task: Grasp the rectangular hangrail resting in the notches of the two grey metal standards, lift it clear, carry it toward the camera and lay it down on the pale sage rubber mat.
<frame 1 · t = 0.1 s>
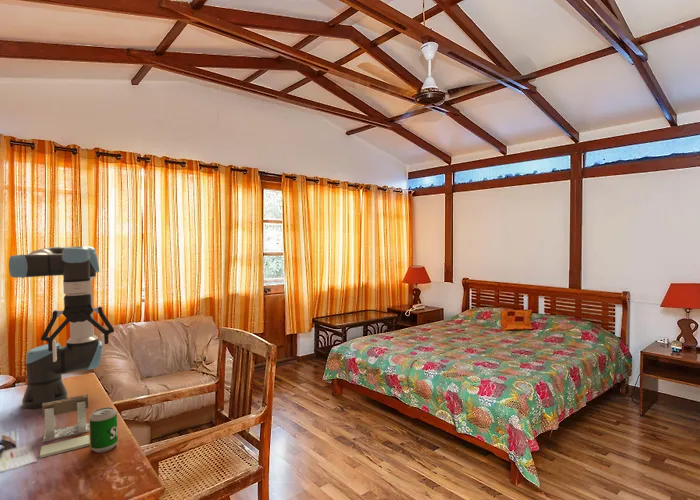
hand: (79, 357, 136), 28 cm above the table, fingers open, 13 cm apart
hangrail: (66, 411, 141), point 7 cm above the table, touching rack
mat: (65, 447, 131), on the table
rack: (66, 432, 141), on the table
soda can: (104, 448, 130), on the table
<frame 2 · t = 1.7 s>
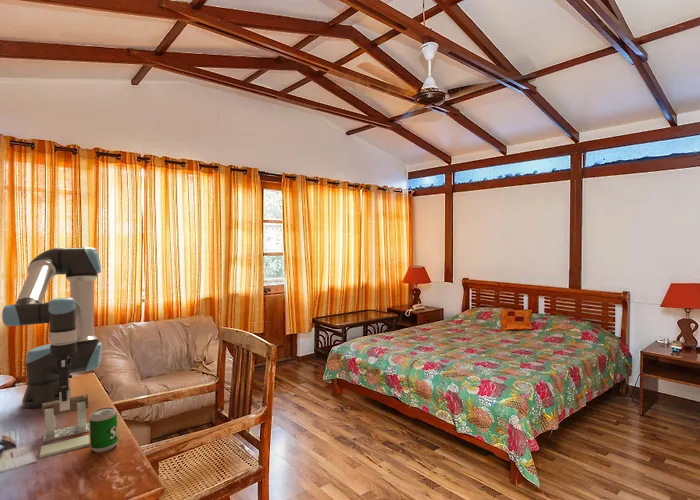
hand: (65, 403, 141), 10 cm above the table, fingers open, 13 cm apart
nothing on the table moved.
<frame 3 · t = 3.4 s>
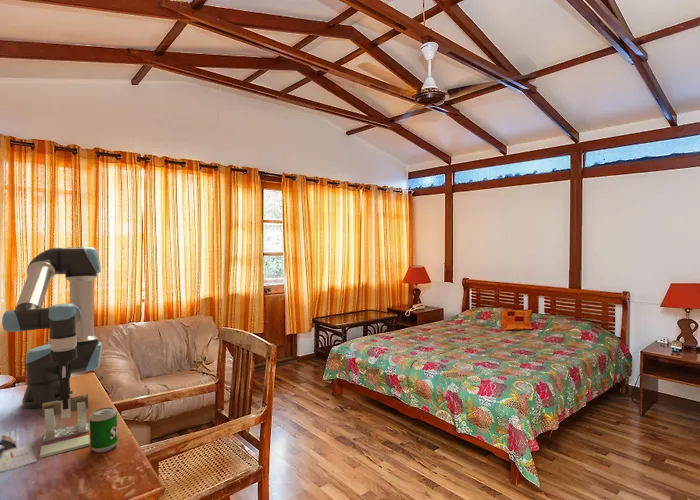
hand: (66, 415, 141), 6 cm above the table, fingers closed on hangrail, 3 cm apart
hangrail: (66, 411, 141), point 8 cm above the table, touching gripper
everything else where it was.
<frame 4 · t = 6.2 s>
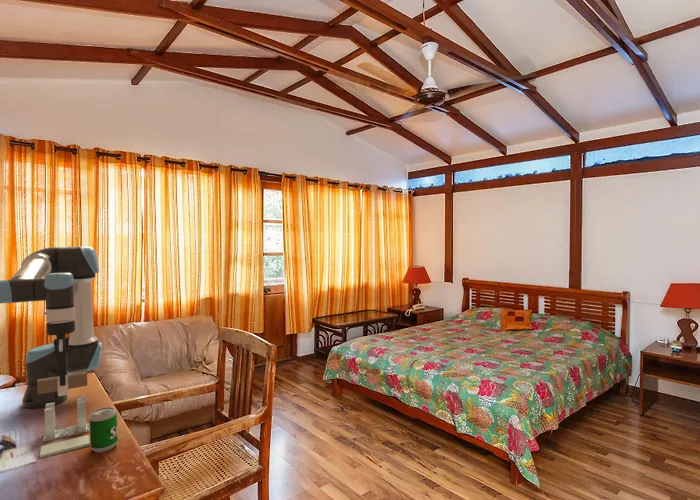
hand: (63, 393, 131), 18 cm above the table, fingers closed on hangrail, 3 cm apart
hangrail: (63, 388, 131), point 19 cm above the table, touching gripper
everything else where it was.
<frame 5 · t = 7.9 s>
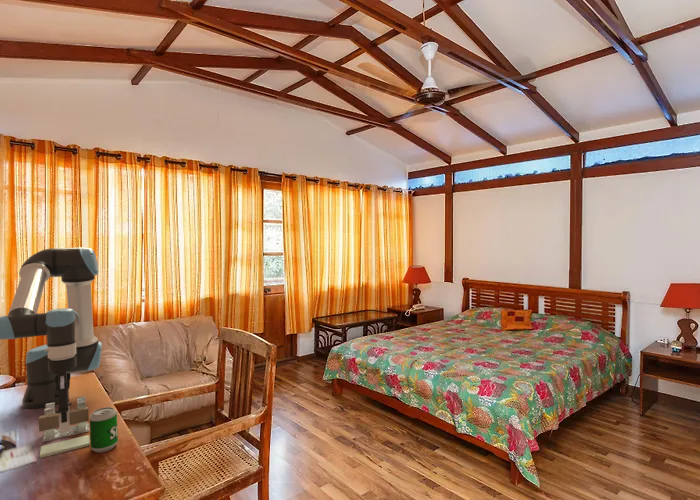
hand: (64, 429, 131), 6 cm above the table, fingers closed on hangrail, 3 cm apart
hangrail: (64, 424, 131), point 7 cm above the table, touching gripper
everything else where it was.
when the fingers open (2 cm above the table, at t = 9.5 s): hangrail drops 2 cm, resting on mat.
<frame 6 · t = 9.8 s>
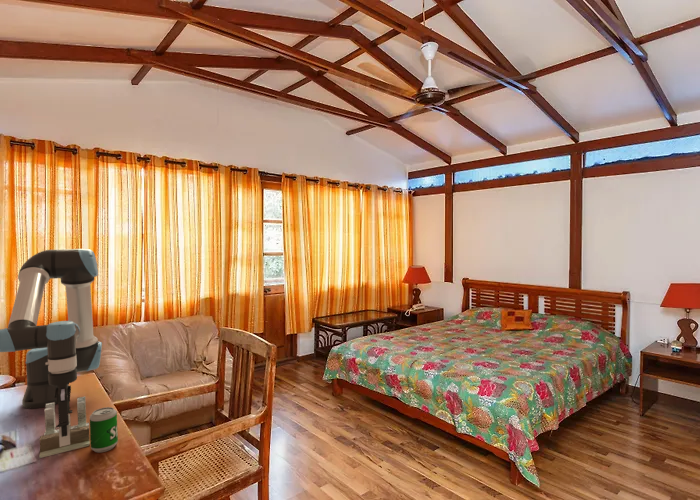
hand: (65, 439, 131), 2 cm above the table, fingers open, 8 cm apart
hangrail: (65, 444, 131), point 1 cm above the table, touching mat
everything else where it was.
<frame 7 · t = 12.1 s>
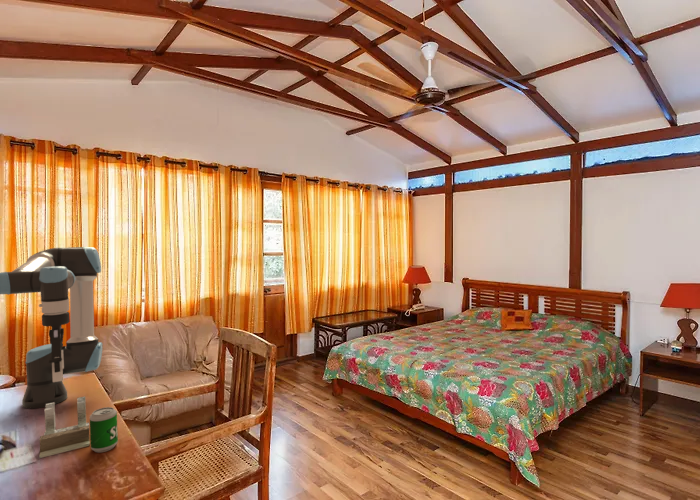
hand: (58, 374, 137), 22 cm above the table, fingers open, 13 cm apart
nothing on the table moved.
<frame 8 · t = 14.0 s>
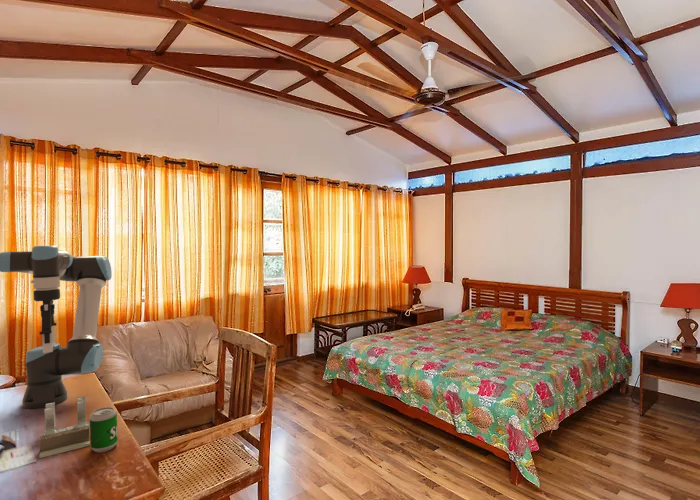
hand: (49, 348, 145), 29 cm above the table, fingers open, 13 cm apart
nothing on the table moved.
at the end: hangrail inside the target area on the mat (0.1 cm from its centre), point 0.8 cm above the mat's base; hangrail touching mat; the gripper is holding nothing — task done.
